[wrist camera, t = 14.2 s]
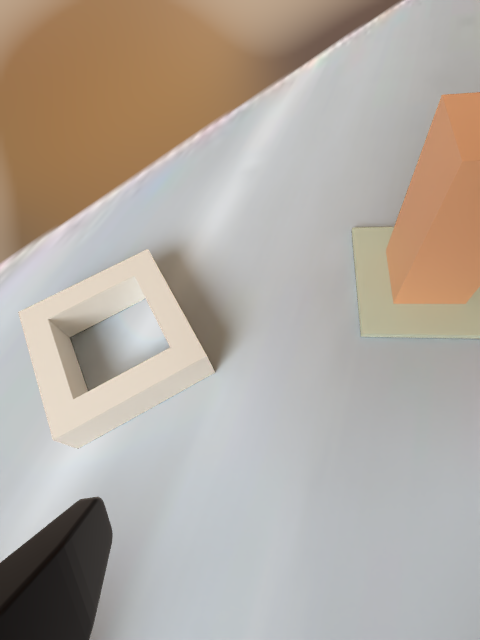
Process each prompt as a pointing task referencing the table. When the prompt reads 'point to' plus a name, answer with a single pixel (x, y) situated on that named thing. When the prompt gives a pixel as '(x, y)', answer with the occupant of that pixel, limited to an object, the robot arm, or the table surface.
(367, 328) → the mat
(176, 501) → the table surface
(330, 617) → the table surface
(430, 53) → the table surface
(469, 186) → the plug
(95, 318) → the cream square frame
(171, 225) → the table surface
